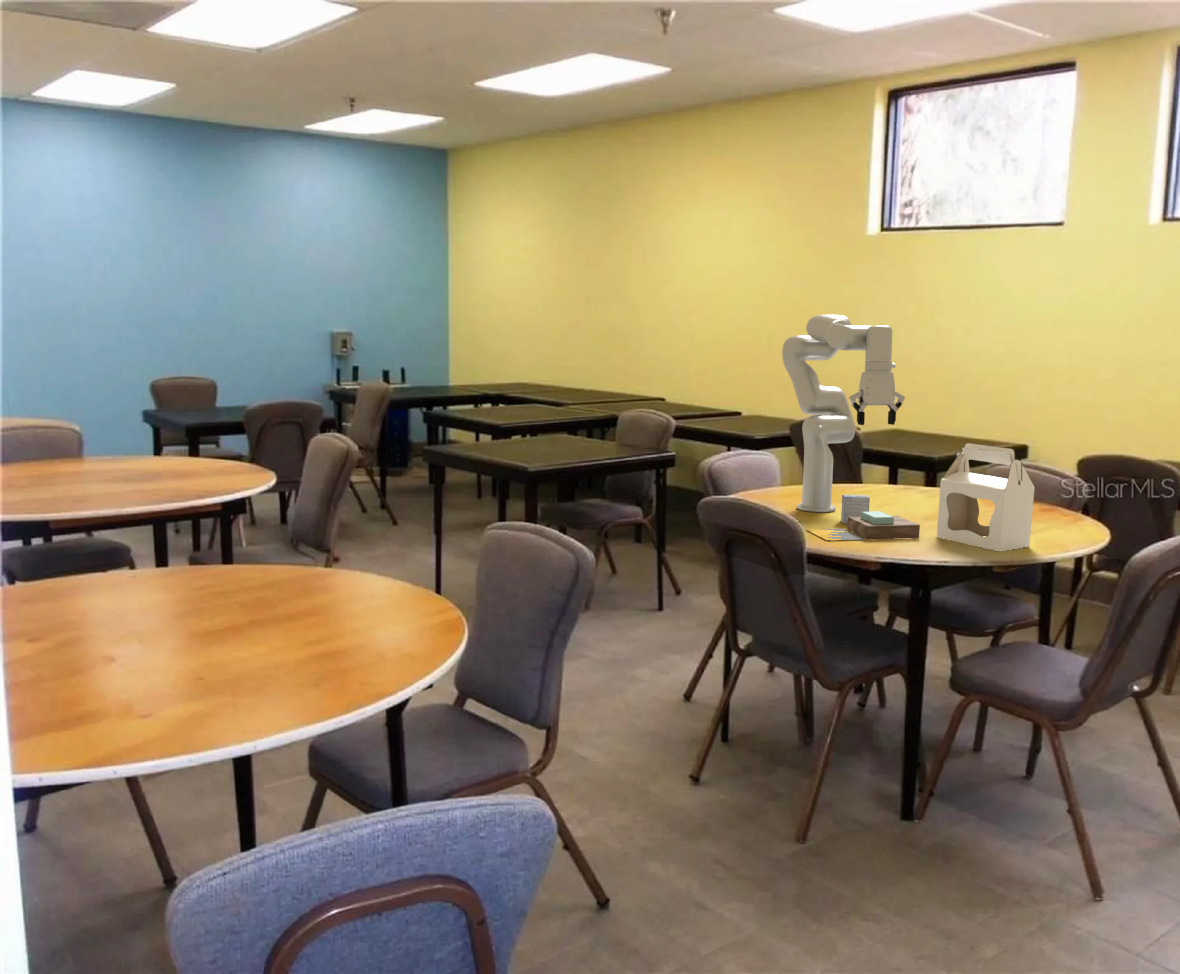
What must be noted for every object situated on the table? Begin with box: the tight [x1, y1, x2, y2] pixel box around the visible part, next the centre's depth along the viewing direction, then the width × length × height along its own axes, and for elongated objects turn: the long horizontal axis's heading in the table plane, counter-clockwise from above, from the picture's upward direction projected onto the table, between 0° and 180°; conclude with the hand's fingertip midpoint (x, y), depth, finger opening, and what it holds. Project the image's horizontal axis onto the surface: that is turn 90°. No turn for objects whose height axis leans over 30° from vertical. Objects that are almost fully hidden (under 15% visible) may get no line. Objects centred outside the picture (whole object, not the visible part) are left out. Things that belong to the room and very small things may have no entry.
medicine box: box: [840, 493, 871, 525], centre depth 320 cm, size 8×4×9 cm, turn 84°
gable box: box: [936, 442, 1036, 553], centre depth 293 cm, size 22×13×28 cm, turn 32°
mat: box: [824, 528, 867, 541], centre depth 302 cm, size 15×12×1 cm
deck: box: [846, 515, 921, 540], centre depth 304 cm, size 14×16×4 cm
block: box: [861, 510, 894, 524], centre depth 303 cm, size 9×6×2 cm, turn 11°
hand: (876, 424), depth 308 cm, fingers open, 9 cm apart
